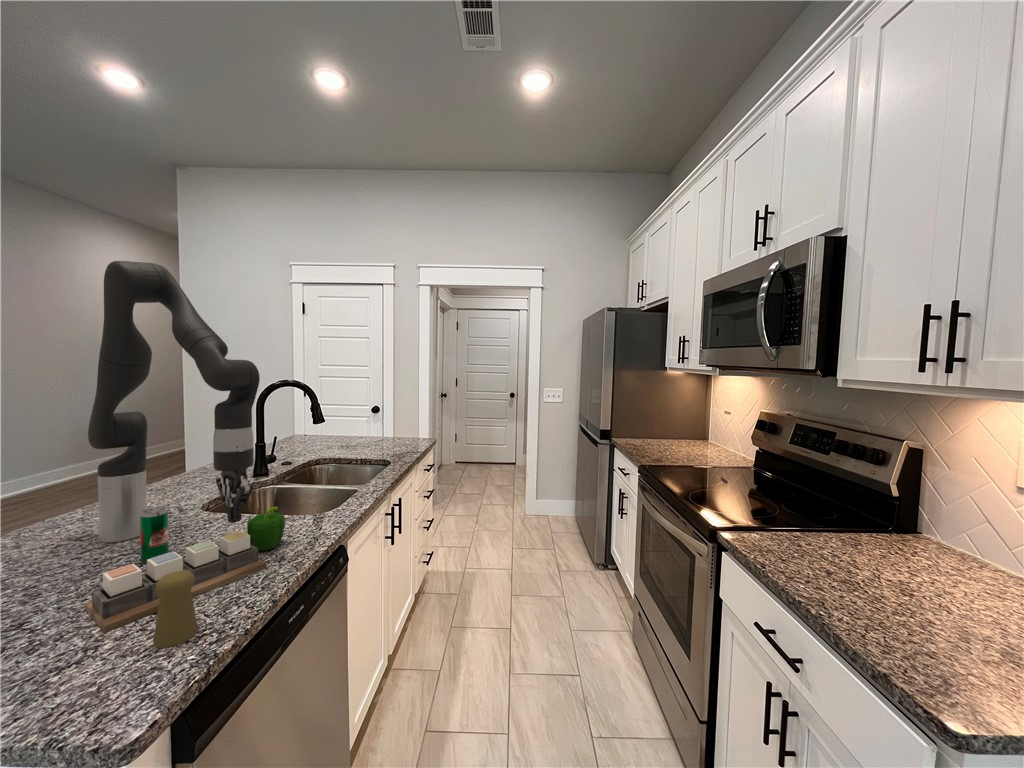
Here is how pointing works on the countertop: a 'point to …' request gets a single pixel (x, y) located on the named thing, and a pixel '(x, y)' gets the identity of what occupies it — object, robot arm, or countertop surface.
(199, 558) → the key
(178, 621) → the cork
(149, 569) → the key
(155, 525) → the soda can
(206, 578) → the keypad
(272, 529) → the bell pepper
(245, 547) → the key
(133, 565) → the key
